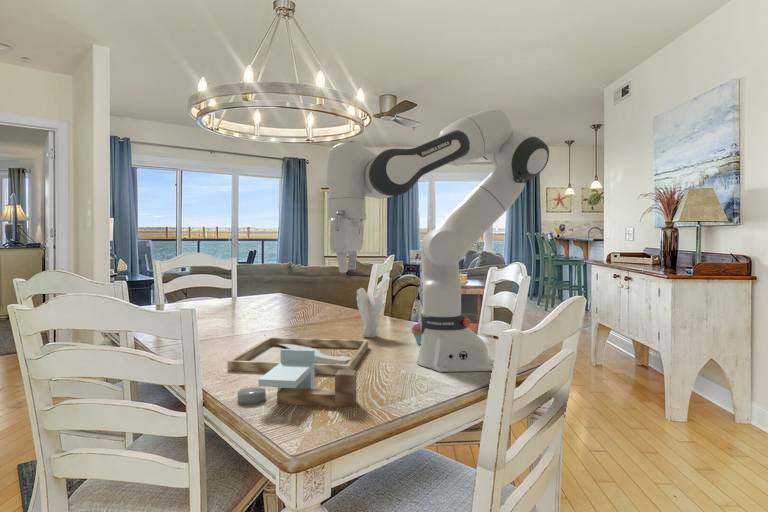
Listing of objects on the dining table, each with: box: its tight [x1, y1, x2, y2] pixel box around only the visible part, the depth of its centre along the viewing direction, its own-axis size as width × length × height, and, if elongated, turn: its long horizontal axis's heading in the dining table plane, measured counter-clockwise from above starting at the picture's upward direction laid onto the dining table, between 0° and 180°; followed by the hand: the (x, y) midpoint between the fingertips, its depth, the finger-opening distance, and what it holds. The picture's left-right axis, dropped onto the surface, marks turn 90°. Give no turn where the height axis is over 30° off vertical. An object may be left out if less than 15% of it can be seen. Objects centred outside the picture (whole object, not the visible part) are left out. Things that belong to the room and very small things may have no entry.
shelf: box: [258, 348, 316, 392], centre depth 100 cm, size 8×14×10 cm, turn 173°
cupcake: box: [411, 307, 422, 345], centre depth 154 cm, size 9×8×12 cm
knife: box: [276, 343, 352, 365], centre depth 138 cm, size 37×8×2 cm, turn 41°
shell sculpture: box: [356, 287, 384, 338], centre depth 164 cm, size 8×8×18 cm
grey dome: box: [237, 386, 267, 406], centre depth 100 cm, size 6×6×2 cm
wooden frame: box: [226, 336, 369, 376], centre depth 135 cm, size 34×30×2 cm
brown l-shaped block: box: [276, 369, 357, 408], centre depth 98 cm, size 17×4×7 cm, turn 83°
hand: (347, 270), depth 105 cm, fingers open, 8 cm apart
